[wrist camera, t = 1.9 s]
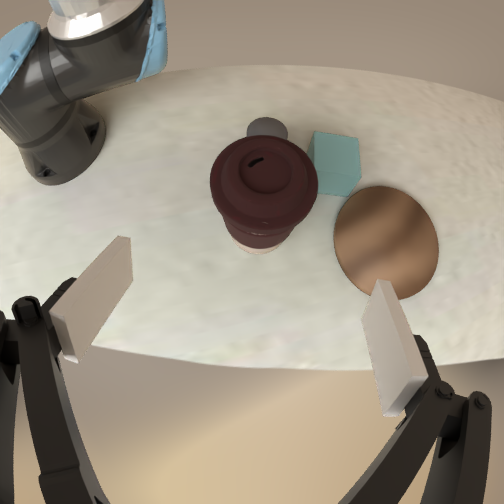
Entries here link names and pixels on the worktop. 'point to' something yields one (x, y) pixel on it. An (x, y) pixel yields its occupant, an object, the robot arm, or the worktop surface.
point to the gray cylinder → (267, 128)
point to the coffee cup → (263, 190)
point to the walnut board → (386, 241)
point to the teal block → (335, 163)
